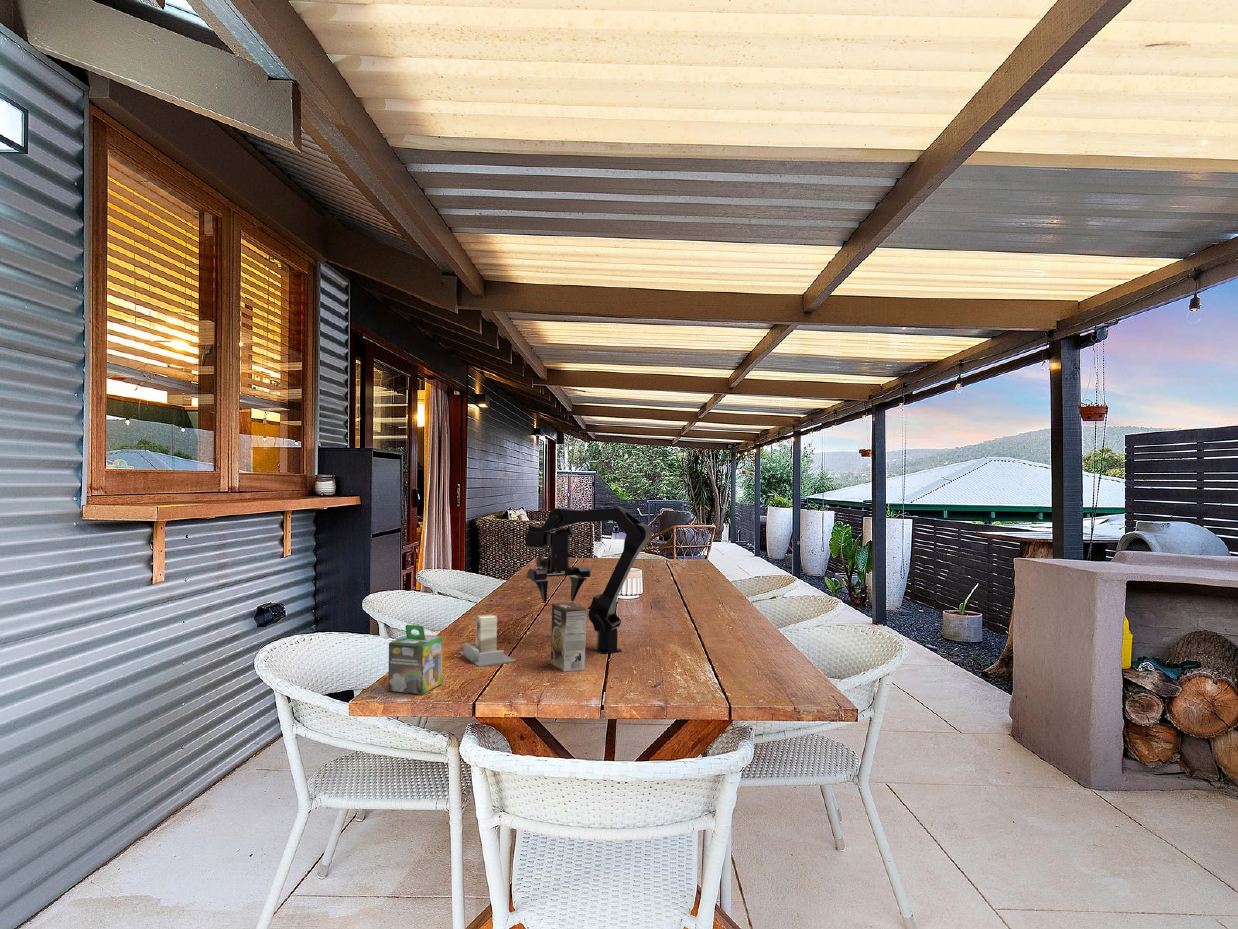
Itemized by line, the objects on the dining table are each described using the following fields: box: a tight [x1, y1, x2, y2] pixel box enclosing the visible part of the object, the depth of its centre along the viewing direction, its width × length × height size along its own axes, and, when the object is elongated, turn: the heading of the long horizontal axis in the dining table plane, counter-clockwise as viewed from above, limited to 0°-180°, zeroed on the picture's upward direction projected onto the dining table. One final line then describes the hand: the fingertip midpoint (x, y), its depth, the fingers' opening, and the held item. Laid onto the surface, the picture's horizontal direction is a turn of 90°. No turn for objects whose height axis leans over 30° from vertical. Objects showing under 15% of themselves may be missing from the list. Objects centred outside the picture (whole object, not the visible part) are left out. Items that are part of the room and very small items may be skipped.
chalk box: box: [388, 624, 443, 696], centre depth 158 cm, size 9×9×15 cm
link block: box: [474, 613, 498, 653], centre depth 187 cm, size 4×5×11 cm
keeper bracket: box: [459, 642, 516, 668], centre depth 187 cm, size 16×10×4 cm, turn 31°
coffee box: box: [550, 602, 587, 673], centre depth 179 cm, size 9×6×16 cm
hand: (558, 602), depth 202 cm, fingers open, 9 cm apart
